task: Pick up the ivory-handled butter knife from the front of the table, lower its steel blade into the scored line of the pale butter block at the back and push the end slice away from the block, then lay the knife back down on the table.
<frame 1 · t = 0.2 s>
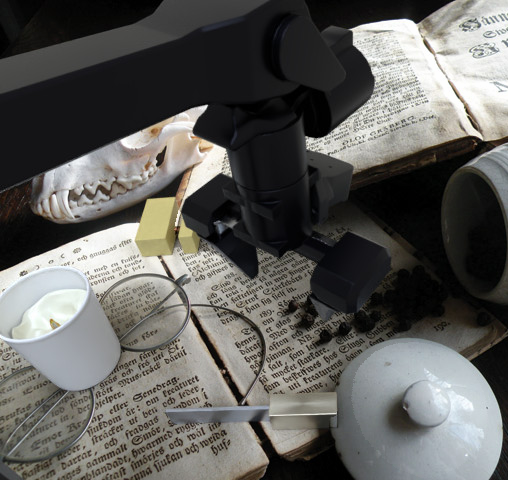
hand: (289, 296, 46), 13 cm above the table, tool pointing down, fingers open, 9 cm apart
candle holder: (87, 360, 58), on the table
knife: (254, 419, 51), on the table
butter slice: (195, 231, 72), on the table
butter: (162, 234, 72), on the table
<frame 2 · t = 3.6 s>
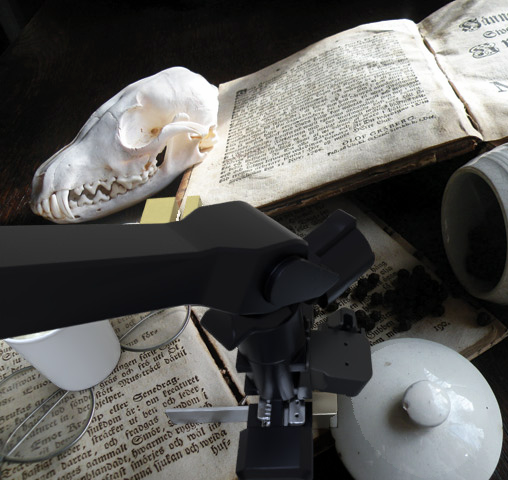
hand: (288, 414, 51), 1 cm above the table, tool pointing down, fingers closed on knife, 2 cm apart
knife: (255, 419, 51), on the table, touching gripper
everything else where it was.
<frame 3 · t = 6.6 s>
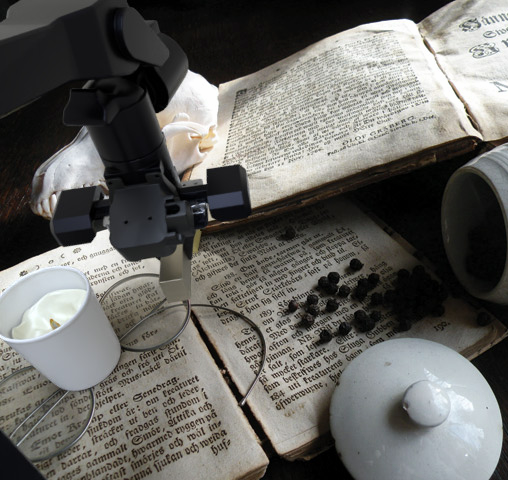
hand: (178, 259, 53), 11 cm above the table, tool pointing down, fingers closed on knife, 2 cm apart
knife: (181, 241, 57), point 10 cm above the table, touching gripper
everything else where it was.
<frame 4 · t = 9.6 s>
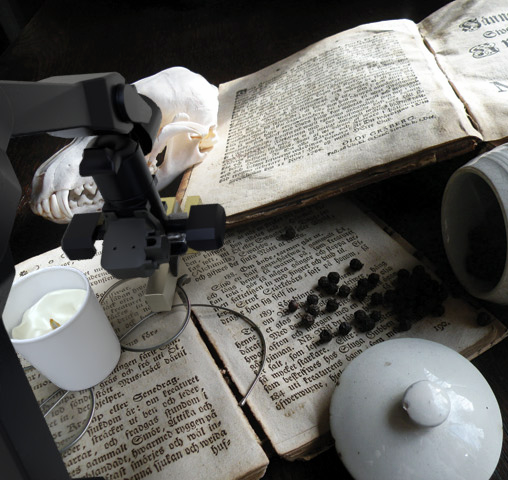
hand: (166, 275, 63), 2 cm above the table, tool pointing down, fingers closed on knife, 2 cm apart
knife: (173, 259, 67), point 1 cm above the table, touching gripper
everything else where it was.
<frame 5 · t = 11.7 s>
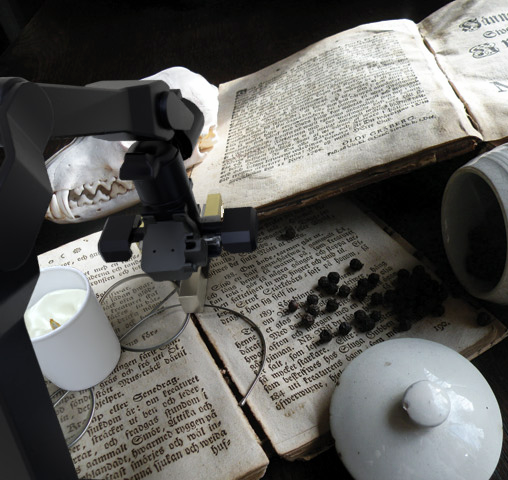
hand: (197, 277, 64), 1 cm above the table, tool pointing down, fingers closed on knife, 2 cm apart
knife: (202, 261, 68), on the table, touching butter slice, gripper
butter slice: (215, 229, 73), on the table, touching knife
everything else where it was.
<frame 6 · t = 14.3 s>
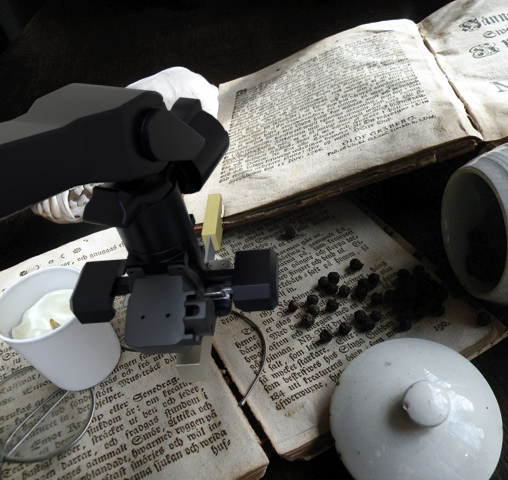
hand: (199, 333, 51), 7 cm above the table, tool pointing down, fingers closed on knife, 2 cm apart
knife: (206, 309, 54), point 6 cm above the table, touching gripper
butter slice: (216, 229, 73), on the table
everything else where it was.
when the fingers open (1 cm above the table, at t = 15.9 s): knife stays where it is, on the table.
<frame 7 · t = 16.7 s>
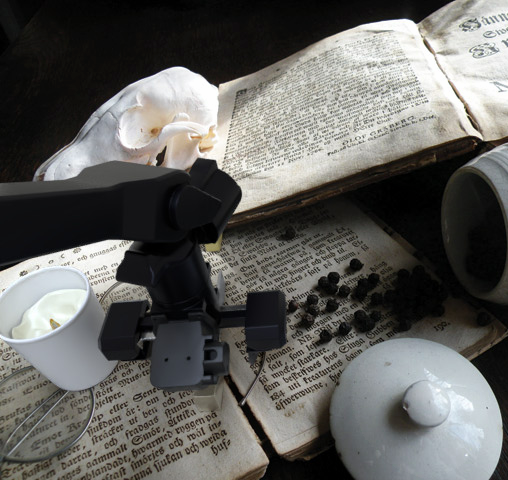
hand: (213, 364, 55), 1 cm above the table, tool pointing down, fingers open, 9 cm apart
knife: (218, 341, 59), on the table
everything else where it was.
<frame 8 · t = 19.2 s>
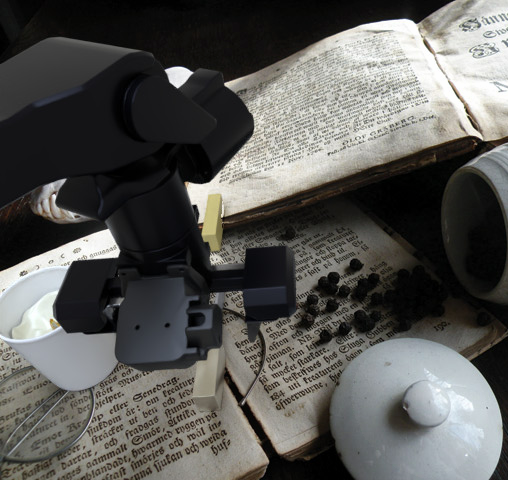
hand: (204, 342, 45), 12 cm above the table, tool pointing down, fingers open, 9 cm apart
nothing on the table moved.
at the end: butter slice moved 3.3 cm from its start; butter moved 0.0 cm from its start; knife on the table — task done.
